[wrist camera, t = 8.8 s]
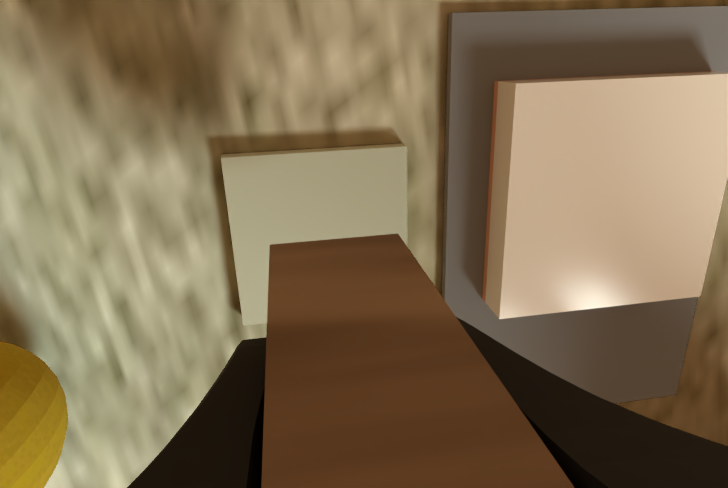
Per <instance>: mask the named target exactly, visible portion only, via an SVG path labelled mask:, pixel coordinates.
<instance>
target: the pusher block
mask: <svg viewBox="0 0 728 488" xmlns="http://www.w3.org/2000/svg"><path fill="white" fill-rule="evenodd" d="M261 488H574V486H573V485H572V483H571V482H570V480H569V479H568V477H567V476H566V475H565V473H564V472H563V470H562V469H561V467H560V466H559V464H558V463H557V462H556V460H555V459H554V457H553V456H552V454H551V453H550V452H549V450H548V449H547V447H546V446H545V444H544V443H543V441H542V440H541V439H540V437H539V436H538V434H537V433H536V431H535V430H534V429H533V427H532V426H531V424H530V423H529V421H528V420H527V418H526V417H525V416H524V414H523V413H522V411H521V410H520V408H519V407H518V405H517V404H516V403H515V401H514V400H513V398H512V397H511V395H510V394H509V393H508V391H507V390H506V388H505V387H504V385H503V384H502V382H501V381H500V380H499V378H498V377H497V375H496V374H495V372H494V371H493V370H492V368H491V367H490V365H489V364H488V362H487V361H486V359H485V358H484V357H483V355H482V354H481V352H480V351H479V349H478V348H477V347H476V345H475V344H474V342H473V341H472V339H471V338H470V336H469V335H468V334H467V332H466V331H465V329H464V328H463V326H462V325H461V323H460V322H459V321H458V319H457V318H456V316H455V315H454V313H453V312H452V311H451V309H450V308H449V306H448V305H447V303H446V302H445V300H444V299H443V298H442V296H441V295H440V293H439V292H438V290H437V289H436V288H435V286H434V285H433V283H432V282H431V280H430V279H429V277H428V276H427V275H426V273H425V272H424V270H423V269H422V267H421V266H420V264H419V263H418V262H417V260H416V259H415V257H414V256H413V254H412V253H411V252H410V250H409V249H408V247H407V246H406V244H405V243H404V241H403V240H402V239H401V237H400V236H399V234H386V235H375V236H363V237H352V238H340V239H329V240H317V241H306V242H294V243H282V244H271V245H270V250H269V280H268V309H267V338H266V367H265V396H264V426H263V455H262V484H261Z"/></svg>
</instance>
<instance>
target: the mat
mask: <svg viewBox="0 0 728 488" xmlns="http://www.w3.org/2000/svg"><path fill="white" fill-rule="evenodd" d="M705 71H719V72H728V6H701V7H661V8H622V9H582V10H542V11H502V12H462V13H449V14H448V52H447V94H446V135H445V177H444V218H443V260H442V298H443V299H444V300H445V302H446V303H447V305H448V306H449V308H450V309H451V311H452V312H453V313H454V315H455V316H456V317H457V318H459V319H461V320H463V321H465V322H467V323H468V324H470V325H472V326H473V327H475V328H477V329H478V330H480V331H481V332H483V333H485V334H486V335H488V336H490V337H491V338H493V339H494V340H496V341H498V342H499V343H501V344H503V345H504V346H506V347H507V348H509V349H511V350H512V351H514V352H516V353H517V354H519V355H521V356H523V357H524V358H526V359H528V360H529V361H531V362H533V363H535V364H536V365H538V366H540V367H542V368H543V369H545V370H547V371H549V372H551V373H553V374H554V375H556V376H558V377H560V378H562V379H564V380H566V381H568V382H570V383H572V384H574V385H576V386H578V387H579V388H581V389H583V390H585V391H588V392H590V393H592V394H594V395H596V396H598V397H600V398H602V399H605V400H607V401H609V402H612V403H614V404H616V403H623V402H630V401H637V400H644V399H651V398H658V397H665V396H672V395H676V394H677V389H678V385H679V380H680V376H681V371H682V367H683V363H684V358H685V354H686V349H687V345H688V340H689V336H690V331H691V327H692V323H693V318H694V314H695V309H696V305H697V300H698V297H690V298H682V299H673V300H664V301H655V302H646V303H638V304H629V305H620V306H611V307H602V308H594V309H585V310H576V311H567V312H558V313H550V314H541V315H532V316H523V317H514V318H506V319H499V318H498V317H497V316H496V315H495V314H494V312H493V311H492V310H491V309H490V308H489V306H488V305H487V304H486V303H485V302H484V300H483V299H482V296H483V279H484V261H485V243H486V225H487V207H488V190H489V172H490V154H491V136H492V118H493V100H494V83H495V81H505V80H527V79H550V78H572V77H594V76H616V75H639V74H661V73H683V72H705Z"/></svg>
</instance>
